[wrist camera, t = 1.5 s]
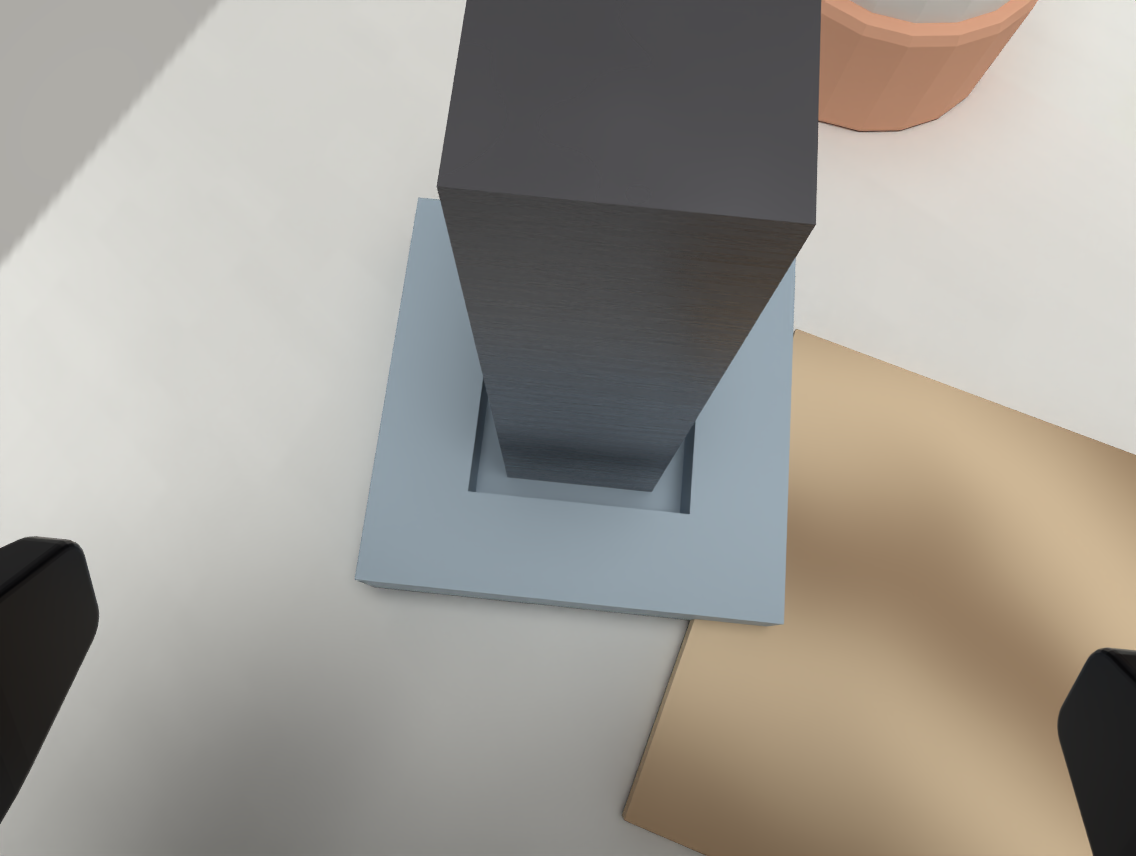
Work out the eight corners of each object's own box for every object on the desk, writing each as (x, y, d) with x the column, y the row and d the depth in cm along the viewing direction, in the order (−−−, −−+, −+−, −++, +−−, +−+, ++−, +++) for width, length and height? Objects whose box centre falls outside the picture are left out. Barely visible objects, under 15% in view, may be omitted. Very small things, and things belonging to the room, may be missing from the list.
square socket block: (760, 627, 19) (783, 624, 17) (374, 586, 19) (354, 579, 17) (774, 273, 22) (796, 235, 20) (430, 238, 22) (418, 197, 20)
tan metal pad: (1164, 1047, 17) (1186, 1061, 17) (622, 815, 18) (624, 820, 18) (1259, 513, 20) (1280, 508, 20) (789, 337, 21) (796, 328, 21)
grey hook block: (651, 491, 20) (815, 224, 7) (507, 477, 20) (437, 186, 7) (669, 253, 21) (828, -288, 9) (536, 239, 21) (517, -317, 9)
